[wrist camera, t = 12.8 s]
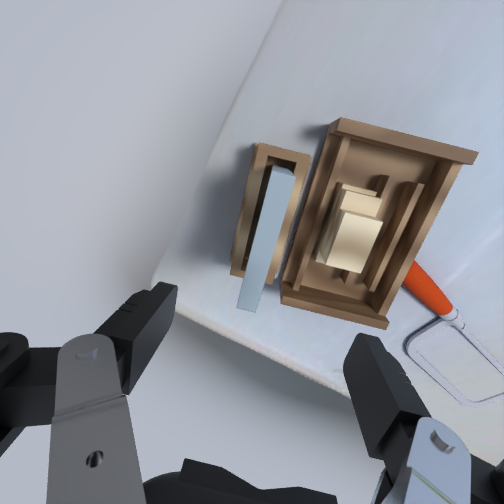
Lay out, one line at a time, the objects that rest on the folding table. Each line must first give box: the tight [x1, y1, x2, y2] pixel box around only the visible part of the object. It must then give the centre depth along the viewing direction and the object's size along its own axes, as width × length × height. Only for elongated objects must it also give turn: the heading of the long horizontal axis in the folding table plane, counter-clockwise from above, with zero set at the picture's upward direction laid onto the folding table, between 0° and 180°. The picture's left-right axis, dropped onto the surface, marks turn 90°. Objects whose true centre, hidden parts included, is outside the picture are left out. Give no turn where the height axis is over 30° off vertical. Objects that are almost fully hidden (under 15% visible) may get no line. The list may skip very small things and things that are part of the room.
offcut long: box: [313, 182, 377, 264], centre depth 32 cm, size 10×4×2 cm, turn 167°
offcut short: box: [322, 209, 383, 273], centre depth 28 cm, size 6×4×2 cm, turn 167°
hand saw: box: [402, 260, 504, 408], centre depth 39 cm, size 33×3×10 cm
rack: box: [280, 117, 479, 330], centre depth 32 cm, size 22×14×6 cm, turn 167°
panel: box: [236, 164, 296, 313], centre depth 27 cm, size 12×2×14 cm, turn 166°
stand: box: [230, 143, 312, 285], centre depth 32 cm, size 16×7×5 cm, turn 167°
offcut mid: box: [319, 188, 383, 257], centre depth 30 cm, size 8×4×2 cm, turn 167°
